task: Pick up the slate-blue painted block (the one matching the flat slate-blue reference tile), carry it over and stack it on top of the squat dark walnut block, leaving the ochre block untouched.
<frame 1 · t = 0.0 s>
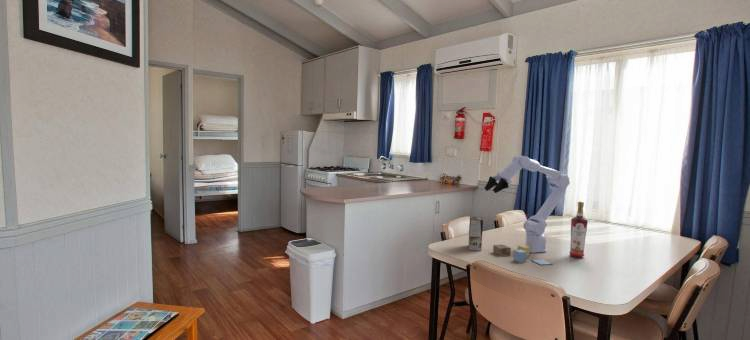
hand: (489, 190, 187), 32 cm above the table, tool tilted 50°, fingers open, 7 cm apart
reference tile: (541, 262, 177), on the table
liquor: (576, 256, 188), on the table
ochre block: (523, 255, 187), on the table
walnut block: (501, 254, 190), on the table
coffee box: (474, 248, 198), on the table
blue block: (520, 261, 179), on the table
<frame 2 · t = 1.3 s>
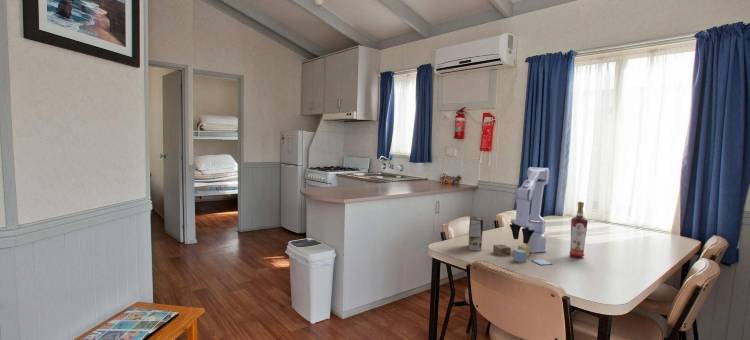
hand: (520, 241, 178), 10 cm above the table, tool pointing down, fingers open, 7 cm apart
nothing on the table moved.
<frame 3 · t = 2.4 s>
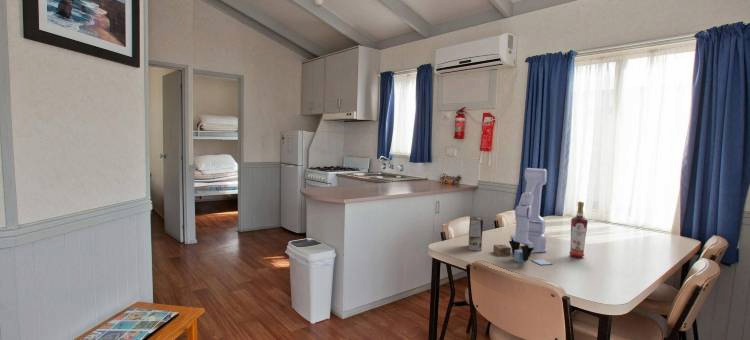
hand: (520, 258, 178), 1 cm above the table, tool pointing down, fingers open, 7 cm apart
nothing on the table moved.
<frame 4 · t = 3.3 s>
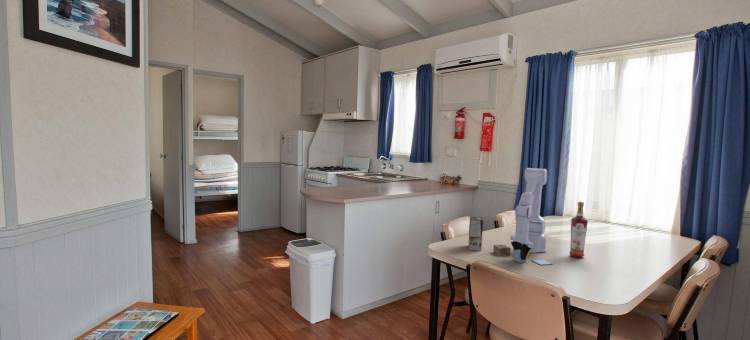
hand: (520, 258, 178), 1 cm above the table, tool pointing down, fingers closed on blue block, 4 cm apart
blue block: (520, 261, 179), on the table, touching gripper
everything else where it was.
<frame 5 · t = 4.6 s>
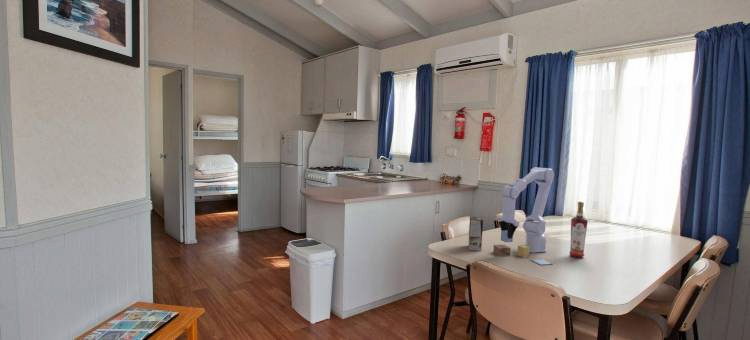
hand: (507, 237, 186), 9 cm above the table, tool pointing down, fingers closed on blue block, 4 cm apart
blue block: (506, 241, 186), point 7 cm above the table, touching gripper
everything else where it was.
when the fingers open (7 cm above the table, at t = 6.1 s): blue block stays where it is, resting on walnut block.
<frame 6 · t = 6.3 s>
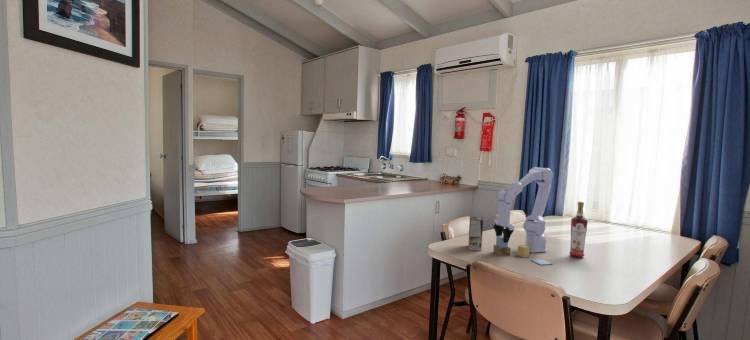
hand: (502, 240, 189), 7 cm above the table, tool pointing down, fingers open, 5 cm apart
walnut block: (501, 254, 190), on the table, touching blue block
blue block: (501, 246, 189), point 4 cm above the table, touching walnut block
everything else where it was.
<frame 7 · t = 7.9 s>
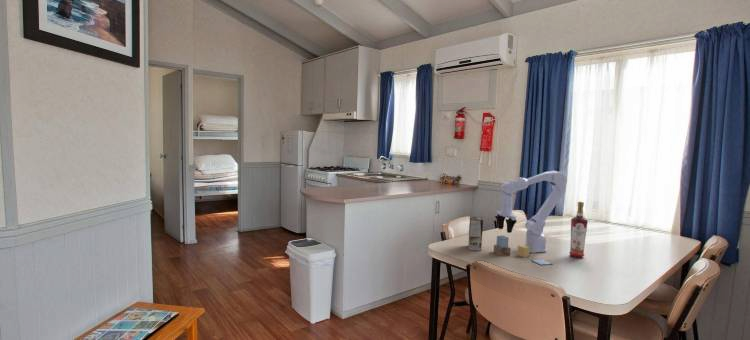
hand: (504, 230, 197), 10 cm above the table, tool pointing down, fingers open, 7 cm apart
walnut block: (501, 254, 190), on the table
blue block: (502, 246, 189), point 4 cm above the table
everything else where it was.
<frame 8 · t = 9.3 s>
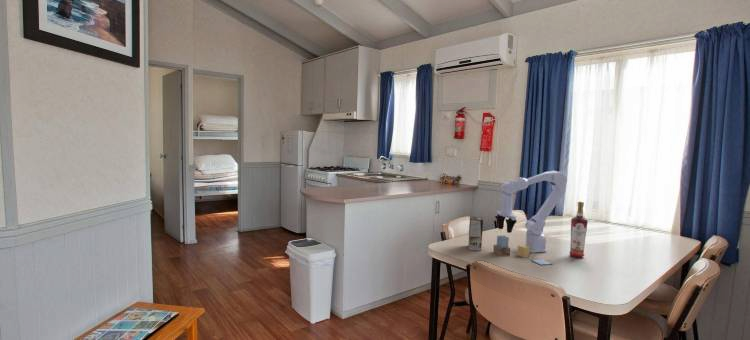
hand: (504, 230, 197), 10 cm above the table, tool pointing down, fingers open, 7 cm apart
walnut block: (501, 254, 190), on the table, touching blue block
blue block: (502, 246, 189), point 4 cm above the table, touching walnut block
everything else where it was.
at the end: blue block 0.3 cm off-centre on the walnut block, point 4.0 cm above the walnut block's base; blue block tilted 0°; ochre block moved 0.1 cm from its start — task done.
